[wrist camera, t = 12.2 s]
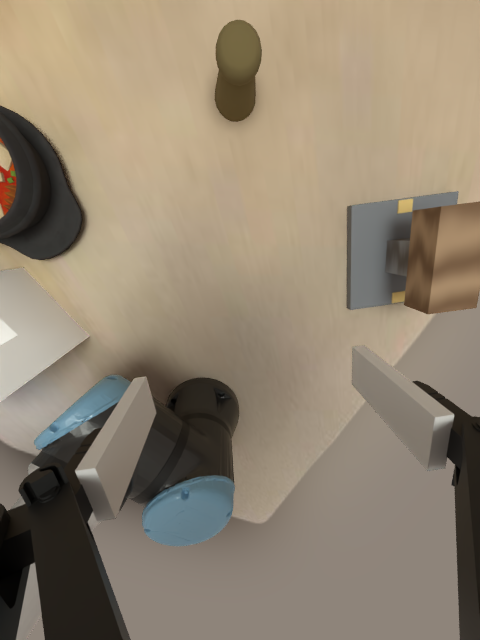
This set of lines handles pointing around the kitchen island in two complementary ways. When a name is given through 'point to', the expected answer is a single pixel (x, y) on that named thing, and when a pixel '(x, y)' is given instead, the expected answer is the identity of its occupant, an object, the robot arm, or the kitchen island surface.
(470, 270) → the wooden block on stand
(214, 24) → the kitchen island surface
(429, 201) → the lock plate
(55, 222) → the casserole
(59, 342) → the milk carton
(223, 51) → the cork
